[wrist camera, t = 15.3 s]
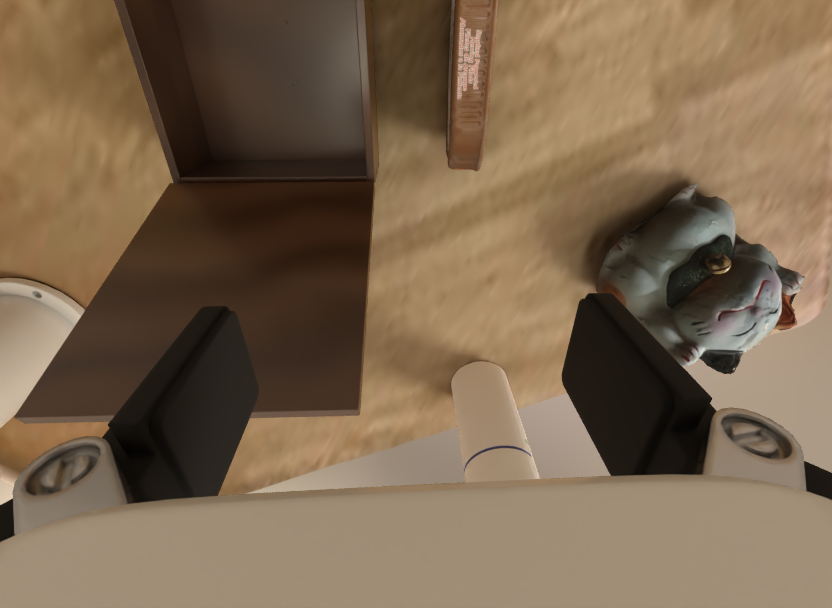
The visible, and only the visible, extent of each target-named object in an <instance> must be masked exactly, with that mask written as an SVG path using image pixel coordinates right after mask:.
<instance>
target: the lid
mask: <svg viewBox="0 0 832 608" xmlns="http://www.w3.org/2000/svg"><path fill="white" fill-rule="evenodd" d="M374 197H375V182H374V181H372V182H263V183H170V184H169V185H168V187H167V188H166V190H165V191H164V193H163V194H162V196H161V197H160V199H159V200H158V202H157V203H156V205H155V206H154V208H153V209H152V211H151V212H150V214H149V215H148V217H147V218H146V220H145V221H144V223H143V224H142V226H141V227H140V229H139V230H138V232H137V233H136V235H135V236H134V238H133V239H132V241H131V242H130V244H129V245H128V247H127V248H126V250H125V251H124V253H123V254H122V256H121V257H120V259H119V260H118V262H117V263H116V265H115V266H114V268H113V269H112V271H111V272H110V274H109V275H108V277H107V278H106V280H105V281H104V283H103V284H102V286H101V287H100V289H99V290H98V292H97V293H96V295H95V296H94V298H93V299H92V301H91V302H90V304H89V305H88V307H87V308H86V310H85V311H84V313H83V314H82V316H81V317H80V319H79V320H78V322H77V323H76V325H75V326H74V328H73V329H72V331H71V332H70V334H69V335H68V337H67V338H66V340H65V341H64V343H63V344H62V346H61V347H60V349H59V350H58V352H57V353H56V355H55V356H54V358H53V359H52V361H51V362H50V364H49V365H48V367H47V368H46V370H45V371H44V373H43V374H42V376H41V377H40V379H39V380H38V382H37V383H36V385H35V386H34V388H33V389H32V391H31V392H30V394H29V395H28V397H27V398H26V400H25V401H24V403H23V404H22V406H21V407H20V409H19V410H18V412H17V413H16V415H15V416H14V418H16V419H18V420H20V421H21V422H23V423H25V424H27V423H68V422H110V421H111V420H112V419H113V417H114V416H115V415H116V414H117V412H118V411H119V410H120V409H121V407H122V406H123V405H124V404H125V402H126V401H127V400H128V399H129V397H130V396H131V395H132V394H133V392H134V391H135V390H136V389H137V387H138V386H139V385H140V384H141V382H142V381H143V380H144V379H145V377H146V376H147V375H148V374H149V372H150V371H151V370H152V369H153V367H154V366H155V365H156V364H157V362H158V361H159V360H160V359H161V357H162V356H163V355H164V354H165V352H166V351H167V350H168V349H169V347H170V346H171V345H172V344H173V342H174V341H175V340H176V339H177V337H178V336H179V335H180V334H181V332H182V331H183V330H184V329H185V327H186V326H187V325H188V324H189V322H190V321H191V320H192V319H193V317H194V316H195V315H196V314H197V312H198V311H199V310H200V309H201V308H202V307H205V306H227V307H228V308H229V309H230V311H235V312H236V314H237V316H238V319H239V323H240V326H241V329H242V333H243V336H244V339H245V343H246V346H247V349H248V353H249V356H250V359H251V363H252V366H253V369H254V373H255V376H256V379H257V382H258V387H259V394H258V399H257V401H256V404H255V406H254V409H253V411H252V413H251V416H250V418H275V417H316V416H357V415H360V407H361V392H362V377H363V362H364V347H365V332H366V317H367V302H368V287H369V272H370V257H371V242H372V227H373V212H374Z"/></svg>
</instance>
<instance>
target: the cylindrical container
mask: <svg viewBox="0 0 832 608" xmlns="http://www.w3.org/2000/svg"><path fill="white" fill-rule="evenodd" d="M451 387H452V394H453V401H454V408H455V414H456V421H457V428H458V434H459V441H460V447H461V454H462V461H463V467H464V473H465V480H466V482H484V481H506V480H528V479H540V477H539V474H538V471H537V468H536V465H535V462H534V459H533V456H532V453H531V450H530V447H529V444H528V441H527V438H526V435H525V432H524V429H523V426H522V423H521V420H520V417H519V414H518V411H517V407H516V404H515V401H514V398H513V395H512V392H511V389H510V386H509V383H508V380H507V377H506V374H505V372H504V371H503V369H502V368H501V367H500V366H498V365H496V364H494V363H491V362H486V361H478V362H472V363H469V364H467V365H465V366H463V367H461V368H460V369H459V370H458V371H457V372H456V373H455V374H454V376H453V378H452V381H451Z"/></svg>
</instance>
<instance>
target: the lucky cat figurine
mask: <svg viewBox="0 0 832 608" xmlns="http://www.w3.org/2000/svg"><path fill="white" fill-rule="evenodd" d="M696 187H697V184H694V185H691V186H689V187H687V188H685V189H683V190H681V191H680V192H679V193H678V194H677V195H676V196H674V197H673V198H672V199H671V200H670V201H669V202H668V203H667V204H666V205H665V206H664V207H663V208H661V209H660V210H659V211H658V212H656V213H655V214H654V215H652V216H651V217H649V218H648V219H646V220H645V221H643V222H642V223H641V224H639V225H638V226H636V227H635V228H633V229H632V230H630V231H629V232H627V233H626V234H625V235H624V236H623V237H622V238H621V239H620V240H619V241H618V242H617V243H616V244H615V245H614V247H612V248H611V249H610V250H609V252H608V254H607V255H606V257H605V258H604V261H603V264H602V267H601V269H600V272H599V276H598V280H597V285H596V288H597V289H596V291H597V292H598V293H612V294H613V295H614V296H615V297H616V298H617V299H618V300H619V301H620V302H621V303H622V304H623V305H624V306H625V307H626V308H627V309H628V310H629V311H630V312H631V313H632V315H633V316H634V317H635V318H636V319H637V320H638V321H639V322H640V323H641V324H642V325H643V326H644V327H645V328H646V329H647V330H648V331H649V332H650V333H651V334H652V336H653V337H654V338H655V339H656V340H657V341H658V342H659V343H660V344H661V345H662V346H663V347H664V348H665V349H666V350H667V351H668V352H669V353H670V354H671V355H672V357H673V358H674V359H675V360H676V361H677V362H678V363H679V364H680V365H681V366H688V365H691V364H694V363H695V361H696V360H698V359H699V358H700V359H701V360H702V361H704V362H705V363H706V365H707V366H710V367H711V368H713V369H715V370H716V371H719V372H721V373H724V374H732V373H734V372H735V370H736V367H737V366H738V364H739V362H740V358H741V356H742V354H743V353H744V352H745V351H748V350H749V349H751V348H754V347H756V346H758V345H759V344H760V343H761V342H762V340H763V339H764V338H765V337H766V336H767V335H768V334H770V333H771V332H772V330H773V329H778V330H786V329H790V328H792V327H793V326H795V325H796V324H797V320H796V318H795V314H794V311H795V310H794V309H793V308H792V306H791V304H792V301H793V299H794V297H795V295H796V294H797V292H798V291H799V290H800V289H802V287H801V286H800V285H801V283H802V280H803V279H804V278H805V276H801V275H800V274H799V273H798V272H795V271H792V270H789V269H786V268H783V267H781V266H780V265H778V262H777V259H776V257H775V256H774V254H773V253H772V252H771V251H768V250H767V249H766V248H765V247H764V246H763V245H761V244H749V243H747V242H745V241H744V240H742V239H741V238H740V237H739V236H738V235H737V234H736V233H735V216H734V212H733V210H732V208H731V206H730V205H729V204H728V203H727V202H726V201H724V200H723V199H721V198H718V197H716V196H715V197H711V198H709V197H703V196H701V195H697V194H696V192H695V189H696Z"/></svg>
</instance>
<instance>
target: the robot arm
mask: <svg viewBox="0 0 832 608" xmlns="http://www.w3.org/2000/svg"><path fill="white" fill-rule="evenodd" d="M84 311H85V310H84V309H83V308H82V307H81V306H80V305H79V304H78V303H76V302H75V301H74V300H73V299H71V298H70V297H68V296H66V295H65V294H63V293H62V292H60V291H58V290H56V289H53V288H51V287H49V286H47V285H44V284H41V283H38V282H35V281H31V280H26V279H21V278H1V279H0V428H1V427H2V426H3V425H4V424H5V423H6V422H8V421H9V420H10V419H11V418H12V417H13V416H14V415H15V414H16V413H17V412H18V410H19V409H20V407H21V406H22V404H23V403H24V401H25V400H26V398H27V397H28V395H29V394H30V392H31V391H32V389H33V388H34V386H35V385H36V383H37V382H38V380H39V379H40V377H41V376H42V374H43V373H44V371H45V370H46V368H47V367H48V365H49V364H50V362H51V361H52V359H53V358H54V356H55V355H56V353H57V352H58V350H59V349H60V347H61V346H62V344H63V343H64V341H65V340H66V338H67V337H68V335H69V334H70V332H71V331H72V329H73V328H74V326H75V325H76V323H77V322H78V320H79V319H80V317H81V316H82V314H83V313H84ZM562 382H563V385H564V387H565V389H566V391H567V393H568V395H569V397H570V399H571V401H572V403H573V405H574V406H575V408H576V410H577V412H578V414H579V415H580V418H581V419H582V422H583V424H584V425H585V427H586V429H587V431H588V433H589V435H590V437H591V439H592V441H593V442H594V444H595V446H596V448H597V450H598V452H599V454H600V456H601V458H602V460H603V462H604V463H605V465H606V467H607V469H608V471H609V473H610V474H611V476H598V477H574V478H551V479H528V480H506V481H484V482H465V483H464V482H463V483H443V484H422V485H404V486H383V487H365V488H345V489H327V490H308V491H290V492H275V493H274V492H272V493H255V494H237V495H223V496H218V494H219V491H220V489H221V486H222V484H223V481H224V479H225V477H226V474H227V472H228V469H229V467H230V464H231V462H232V460H233V457H234V455H235V452H236V450H237V447H238V445H239V443H240V440H241V438H242V435H243V433H244V430H245V428H246V426H247V423H248V421H249V418H250V416H251V413H252V411H253V409H254V406H255V404H256V401H257V399H258V394H259V387H258V382H257V379H256V376H255V373H254V369H253V366H252V363H251V359H250V356H249V353H248V349H247V346H246V343H245V339H244V336H243V333H242V329H241V326H240V323H239V319H238V316H237V314H236V312H235V311H230V309H229V308H228V307H227V306H205V307H202V308H201V309H200V310H199V311H198V312H197V314H196V315H195V316H194V317H193V319H192V320H191V321H190V322H189V324H188V325H187V326H186V327H185V329H184V330H183V331H182V332H181V334H180V335H179V336H178V337H177V339H176V340H175V341H174V342H173V344H172V345H171V346H170V347H169V349H168V350H167V351H166V352H165V354H164V355H163V356H162V357H161V359H160V360H159V361H158V362H157V364H156V365H155V366H154V367H153V369H152V370H151V371H150V372H149V374H148V375H147V376H146V377H145V379H144V380H143V381H142V382H141V384H140V385H139V386H138V387H137V389H136V390H135V391H134V392H133V394H132V395H131V396H130V397H129V399H128V400H127V401H126V402H125V404H124V405H123V406H122V407H121V409H120V410H119V411H118V412H117V414H116V415H115V416H114V417H113V419H112V420H111V421H110V423H109V424H108V426H109V427H110V428H109V430H108V431H107V432H106V433H105V435H104V436H103V437H102V438H101V437H98V436H85V437H80V438H75V439H72V440H69V441H67V442H64V443H61V444H59V445H57V446H55V447H53V448H52V449H50V450H48V451H46V452H45V453H43V454H42V455H40V456H39V457H38V458H36V459H35V460H33V461H32V462H31V463H30V464H29V465H28V466H27V467H26V468H25V469H24V470H23V471H22V472H21V474H20V475H19V477H18V478H17V480H16V482H15V485H14V489H13V499H11V500H9V501H8V502H6V503H4V504H2V505H0V608H832V473H831V472H828V471H826V470H824V469H821V468H819V467H817V466H815V465H812V464H810V463H808V462H805V461H804V457H803V451H802V449H801V446H800V444H799V443H798V441H797V440H796V439H795V438H794V436H793V435H792V434H791V433H789V432H788V431H787V430H786V429H784V428H783V427H782V426H781V425H779V424H777V423H776V422H774V421H772V420H771V419H769V418H767V417H764V416H762V415H760V414H758V413H755V412H752V411H748V410H745V409H739V408H724V409H720V410H719V411H716V410H715V409H714V408H713V407H712V406H711V404H710V402H711V400H712V398H711V396H710V395H709V394H708V393H707V392H706V391H705V390H704V389H703V388H702V387H701V386H700V385H699V384H698V383H697V382H696V381H695V380H694V379H693V378H692V377H691V375H690V374H689V373H688V372H687V371H686V370H685V369H684V368H683V367H682V366H681V365H680V364H679V363H678V362H677V361H676V360H675V359H674V358H673V357H672V355H671V354H670V353H669V352H668V351H667V350H666V349H665V348H664V347H663V346H662V345H661V344H660V343H659V342H658V341H657V340H656V339H655V338H654V337H653V336H652V334H651V333H650V332H649V331H648V330H647V329H646V328H645V327H644V326H643V325H642V324H641V323H640V322H639V321H638V320H637V319H636V318H635V317H634V316H633V315H632V313H631V312H630V311H629V310H628V309H627V308H626V307H625V306H624V305H623V304H622V303H621V302H620V301H619V300H618V299H617V298H616V297H615V296H614V295H613V294H612V293H590V294H588V295H587V296H586V298H585V299H581V300H580V302H579V305H578V309H577V313H576V317H575V321H574V326H573V330H572V334H571V338H570V342H569V346H568V350H567V354H566V358H565V363H564V367H563V371H562Z"/></svg>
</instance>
